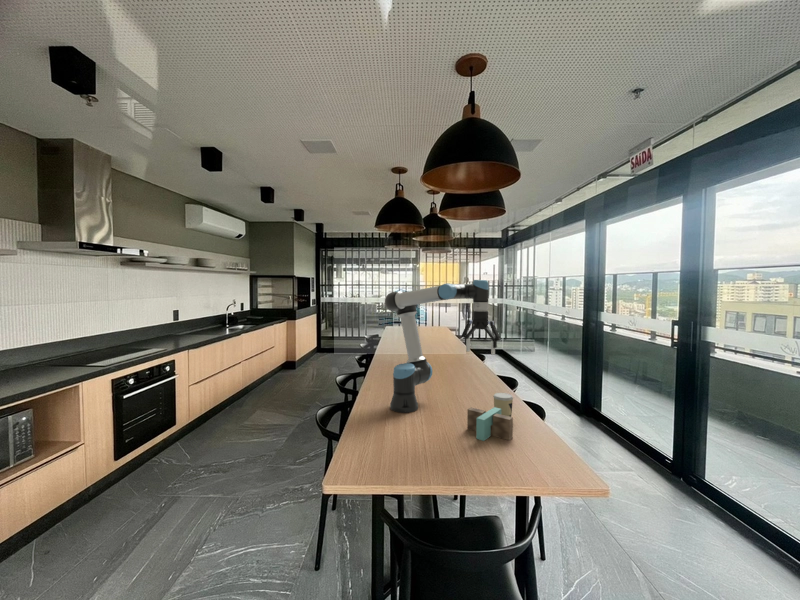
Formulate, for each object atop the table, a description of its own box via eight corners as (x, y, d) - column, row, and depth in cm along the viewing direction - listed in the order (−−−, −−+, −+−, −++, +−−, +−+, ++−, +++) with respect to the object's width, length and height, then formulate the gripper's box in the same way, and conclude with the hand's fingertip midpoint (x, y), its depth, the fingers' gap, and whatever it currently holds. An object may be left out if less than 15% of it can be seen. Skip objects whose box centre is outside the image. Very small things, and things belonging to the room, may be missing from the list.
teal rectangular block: (476, 438, 147) (476, 418, 147) (494, 426, 161) (494, 407, 160) (483, 441, 145) (484, 420, 144) (501, 427, 158) (501, 408, 158)
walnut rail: (467, 428, 158) (467, 409, 157) (471, 426, 160) (471, 407, 160) (509, 440, 145) (509, 419, 145) (512, 437, 148) (512, 417, 147)
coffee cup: (514, 423, 164) (514, 398, 163) (493, 421, 166) (494, 397, 165) (511, 416, 173) (511, 393, 173) (492, 415, 175) (492, 391, 174)
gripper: (455, 310, 175) (454, 351, 176) (501, 312, 159) (501, 357, 160) (462, 309, 181) (462, 349, 182) (507, 311, 165) (507, 354, 166)
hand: (480, 352), depth 171 cm, fingers open, 13 cm apart
